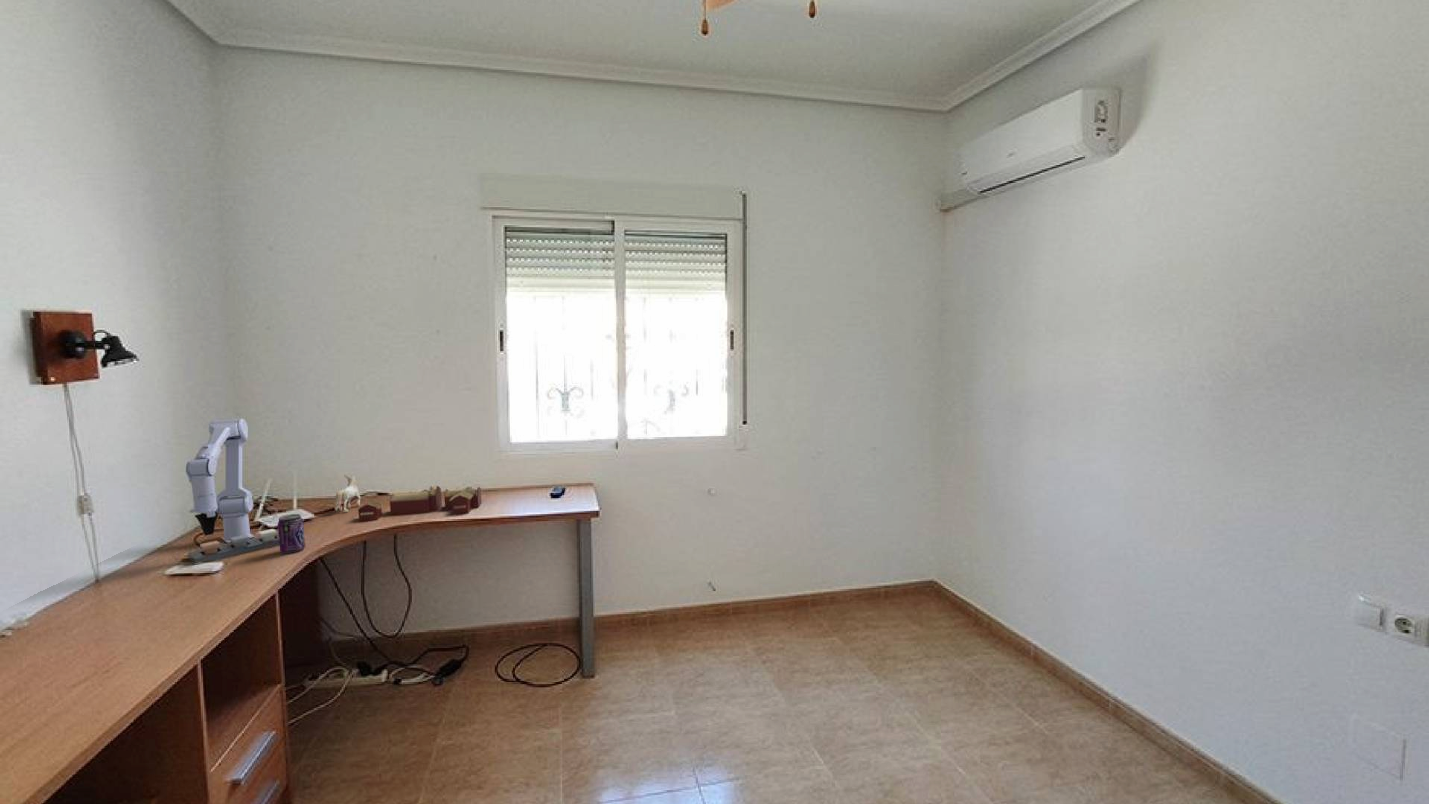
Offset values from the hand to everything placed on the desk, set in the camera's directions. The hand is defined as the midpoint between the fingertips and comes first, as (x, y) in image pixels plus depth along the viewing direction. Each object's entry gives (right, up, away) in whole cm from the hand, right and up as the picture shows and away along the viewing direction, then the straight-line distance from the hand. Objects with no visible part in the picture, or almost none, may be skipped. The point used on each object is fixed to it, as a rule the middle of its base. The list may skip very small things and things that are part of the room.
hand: (208, 534), depth 201 cm
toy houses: (+47, -2, +50) cm, 69 cm away
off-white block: (+10, -5, +13) cm, 17 cm away
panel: (+5, -7, +7) cm, 11 cm away
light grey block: (+5, -6, +7) cm, 10 cm away
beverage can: (+25, -7, +5) cm, 26 cm away
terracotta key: (0, -7, +1) cm, 7 cm away
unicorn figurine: (+9, -2, +58) cm, 59 cm away
